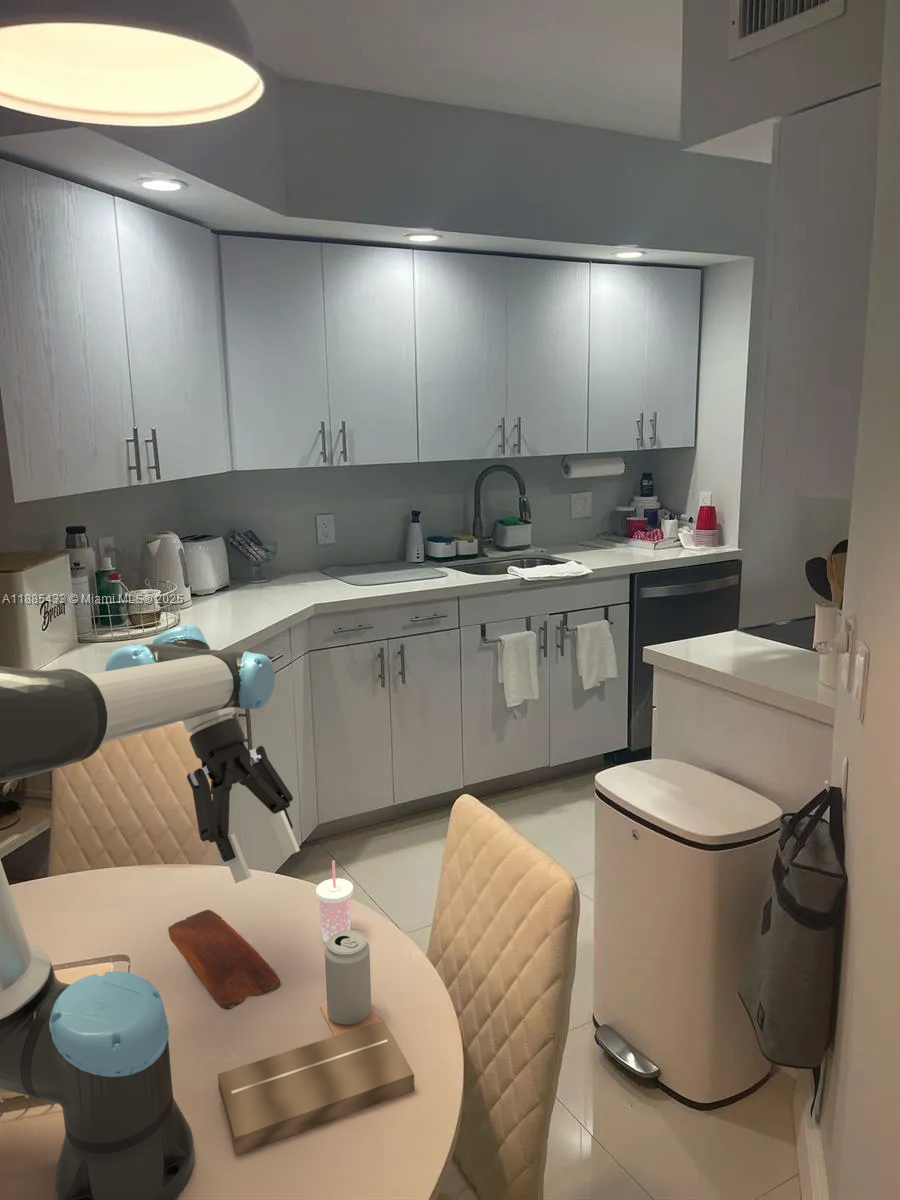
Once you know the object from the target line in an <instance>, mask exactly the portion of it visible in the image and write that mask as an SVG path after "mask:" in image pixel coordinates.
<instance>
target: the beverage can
mask: <svg viewBox="0 0 900 1200" xmlns="http://www.w3.org/2000/svg"><path fill="white" fill-rule="evenodd" d="M370 949H371V948H370V944H369V942H368V939H367V937H366V935H365V934H364V933H362V931H361V932H360V931H359V930H356V929H355V930H354V929H350V930H343V931H339V932H337V933H335V934H333V935H332V936H330V938H329V939H328V941H327V943H326V946H325V949H324V963H325V964H324V965H325V968H324V969H325V989H326V992H325V993H326V1004H327V1013H328V1015H329V1017H330V1018H331V1019H332V1020H333V1021H334V1022H336V1023H339V1024H342V1025H354V1024H357V1023H359V1022H361V1021H362V1020H364V1019H365V1018H366V1017H367V1016H368V1015H369V1013H370V1011H371V1004H372V992H371V991H372V990H371V989H372V988H371V987H372V985H371V953H370Z"/></svg>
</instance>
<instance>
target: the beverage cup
mask: <svg viewBox="0 0 900 1200" xmlns="http://www.w3.org/2000/svg"><path fill="white" fill-rule="evenodd" d="M331 870H332V871H331V872H332V878H330V879H325V880H323V881H322V882H320V883H318V885H317V886H316V888H315V893H316V897H317V899H318V908H319V917H320V925H321V927H320V928H321V933H322V940H323V942H324V943H326V944H327V941H328V939H329V938H330V936H332V935H333V934H335V933H337V932H339V931H343V930H351V928H352V927H351V926H352V925H351V920H352V896H353V894H354V885H353V883H352V882H351V881H349V880H347V879H346V878H345V879H344V878H340V877H339V878H338V877H337V878H336V860H335V859H333V860H332V861H331Z"/></svg>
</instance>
